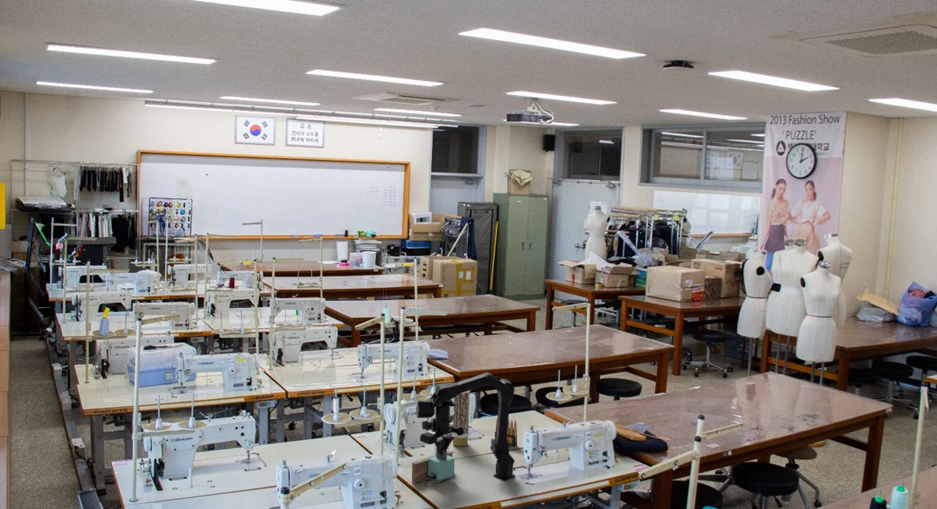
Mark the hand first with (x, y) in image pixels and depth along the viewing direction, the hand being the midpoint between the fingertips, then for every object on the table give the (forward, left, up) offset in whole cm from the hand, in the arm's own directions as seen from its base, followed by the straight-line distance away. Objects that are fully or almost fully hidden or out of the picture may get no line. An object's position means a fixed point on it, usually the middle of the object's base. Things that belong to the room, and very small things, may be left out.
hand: (441, 455), depth 314 cm
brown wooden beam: (+3, 0, -10) cm, 11 cm away
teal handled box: (0, 0, -8) cm, 8 cm away
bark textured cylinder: (+24, -34, -10) cm, 43 cm away
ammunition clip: (+11, -50, -11) cm, 52 cm away
